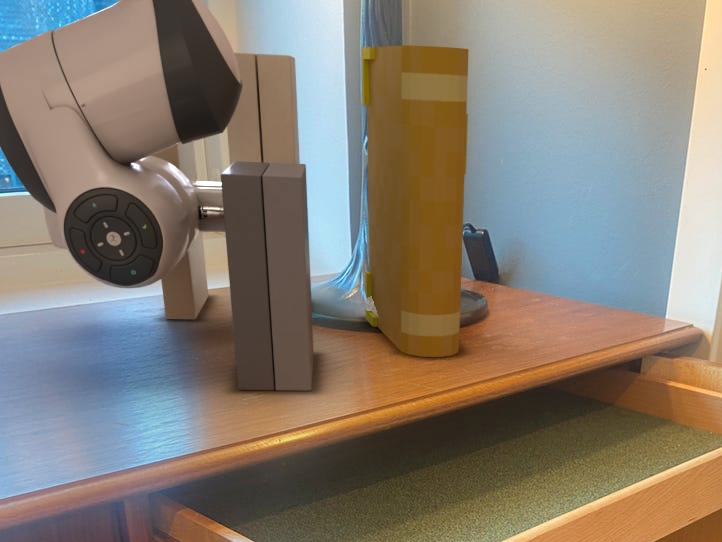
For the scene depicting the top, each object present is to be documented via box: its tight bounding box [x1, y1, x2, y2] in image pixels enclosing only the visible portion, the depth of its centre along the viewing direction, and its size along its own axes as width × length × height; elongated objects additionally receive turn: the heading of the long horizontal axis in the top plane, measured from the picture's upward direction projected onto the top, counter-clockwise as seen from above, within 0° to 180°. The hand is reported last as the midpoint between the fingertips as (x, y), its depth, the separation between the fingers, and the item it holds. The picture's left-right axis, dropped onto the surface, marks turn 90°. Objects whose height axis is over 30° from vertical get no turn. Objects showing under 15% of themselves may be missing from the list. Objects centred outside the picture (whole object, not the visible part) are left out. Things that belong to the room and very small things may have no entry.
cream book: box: [150, 141, 209, 320], centre depth 99 cm, size 3×12×20 cm, turn 8°
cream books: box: [226, 51, 301, 166], centre depth 100 cm, size 6×14×24 cm, turn 8°
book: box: [360, 44, 470, 358], centre depth 91 cm, size 17×7×25 cm, turn 17°
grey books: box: [220, 161, 315, 392], centre depth 80 cm, size 6×12×16 cm, turn 8°
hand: (169, 194), depth 96 cm, fingers open, 8 cm apart
